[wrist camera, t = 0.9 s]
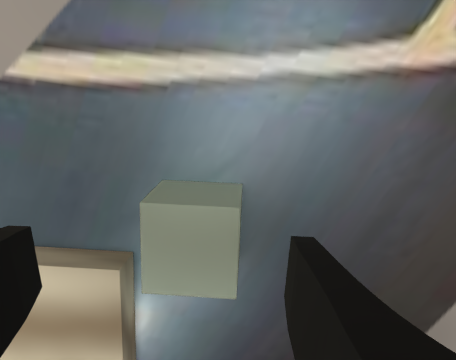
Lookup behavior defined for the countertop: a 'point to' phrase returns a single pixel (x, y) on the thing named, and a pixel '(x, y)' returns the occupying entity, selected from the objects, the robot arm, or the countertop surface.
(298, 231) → the countertop surface
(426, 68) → the countertop surface
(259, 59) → the countertop surface
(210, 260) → the green cube
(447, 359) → the robot arm
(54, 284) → the maple block
